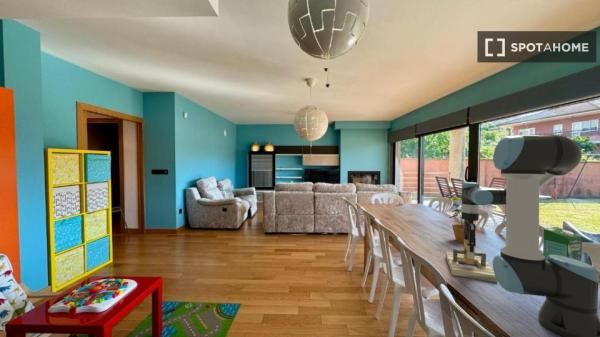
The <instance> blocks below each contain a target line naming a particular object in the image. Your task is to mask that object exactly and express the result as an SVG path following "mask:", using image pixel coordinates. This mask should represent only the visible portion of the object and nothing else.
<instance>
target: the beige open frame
mask: <svg viewBox="0 0 600 337" xmlns="http://www.w3.org/2000/svg"><path fill="white" fill-rule="evenodd" d="M445 259H446V261H447V263H448V267H449V271H450V273H451V275H452V276H457V277H463V278H469V279H475V280H479V281H480V280H481V281H488V282H493V283H498V281H497V278H496V276H495V274H494V270H493V267H492V266H491V265H490V264H489V262H488V261H487V260H486V266H484V265H481V256H474V264H473V266H474V265H475V266H477V267H478V268H474V267H469V266H461V265H460V264H467V263H466V259H464V254H459V253H457V262H456V261H453V252H445Z"/></svg>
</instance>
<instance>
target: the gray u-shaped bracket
mask: <svg viewBox="0 0 600 337" xmlns="http://www.w3.org/2000/svg"><path fill="white" fill-rule="evenodd" d="M452 253H453V261H456V262H457V254H463V255H464V254H466V250H464V249H458V248H453V249H452ZM474 256H479V257H481V265H484V266H486V261H487V253H486V252H481V251H474Z"/></svg>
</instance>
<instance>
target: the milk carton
mask: <svg viewBox="0 0 600 337" xmlns="http://www.w3.org/2000/svg"><path fill="white" fill-rule="evenodd" d="M542 246H543V247H542V249H543V250H542V255H544V256H545V260H547V259H546V257H547V256H548V255H559V256H564V257H568V258H572V259H575V260H578V261H581V262H582V257H583V254H582V251H583V250H582V249H583V236H580V235H579V234H576V233H574V232H572V231H570V230H567V229H563V228H561V227H559V226H553V227H544V228H543V245H542Z"/></svg>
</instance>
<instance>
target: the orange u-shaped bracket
mask: <svg viewBox="0 0 600 337" xmlns="http://www.w3.org/2000/svg"><path fill="white" fill-rule="evenodd" d="M467 244H469V243H468V241H464V242H463V250H466V254H463V255H464V259H466V263H465V264H468V265H474V259H471V258H468V245H467Z"/></svg>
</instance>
